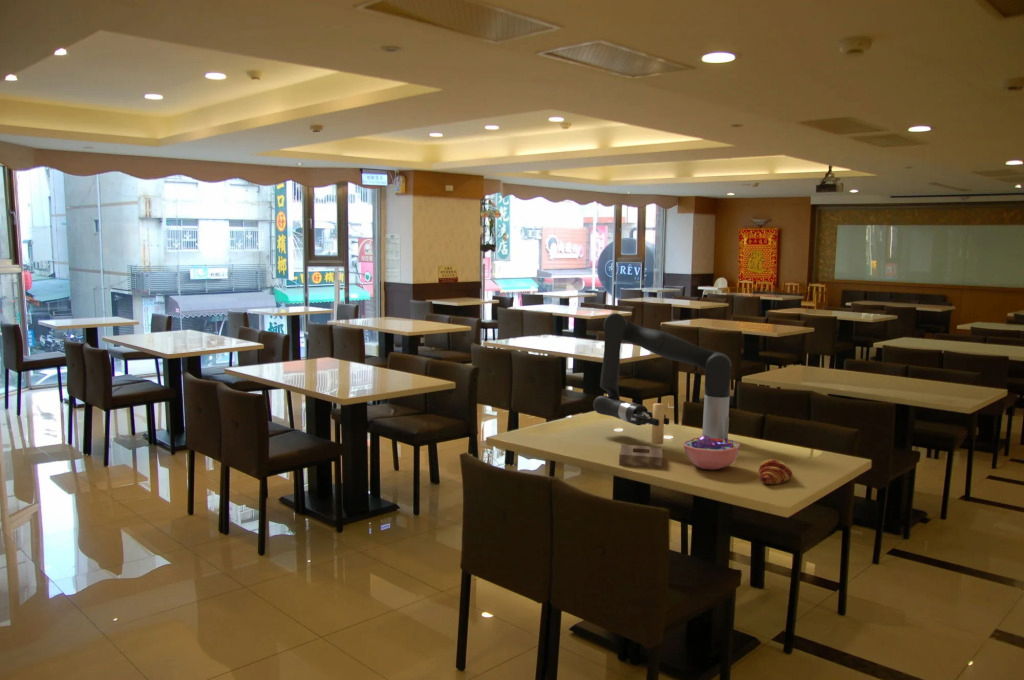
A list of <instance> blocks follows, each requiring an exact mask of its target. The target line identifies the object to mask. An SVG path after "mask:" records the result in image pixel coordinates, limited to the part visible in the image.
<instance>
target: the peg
mask: <svg viewBox="0 0 1024 680" xmlns="http://www.w3.org/2000/svg"><path fill="white" fill-rule="evenodd" d="M652 412H653V418H655V419H658V420H659V426H655V425H652V424H651V425H652V426H651V427H652V428H651V444H654V445H662V444H664V429H665V424H664V414H665V403H659V402H654V403H652Z"/></svg>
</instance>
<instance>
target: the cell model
mask: <svg viewBox="0 0 1024 680" xmlns="http://www.w3.org/2000/svg"><path fill="white" fill-rule="evenodd" d="M682 445H683V449H684V452H685V454H686V456H687V457H688V458H689V460H690V461H691V463H692V464H694V465H695V466H696V467H698V468H700V469H702V470H709V471H713V470H719V469H723V468H726V467H728V466H730V465H732V464H733V463H735V462H736V459H737V458H738V455H739V452H740V445H741V444H740V443H738V442H736V441H734V440H732V439H729V438H728V439H727V438H725V439H715V438H710V437H709V436H706V435H704V436H700V437H693V438H690V439H689V440H685V441H684V442H683V443H682Z"/></svg>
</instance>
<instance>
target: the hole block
mask: <svg viewBox="0 0 1024 680" xmlns="http://www.w3.org/2000/svg"><path fill="white" fill-rule="evenodd" d="M619 451H620V452H619V457H618V465H619V466H630V467H631V466H634V467H642V466H643V468H656V469H659V468H660V469H662V468H663V447H662V446H648V445H647V446H646V445H636V444H635V445H634V444H621V446H620V450H619Z"/></svg>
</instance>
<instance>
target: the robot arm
mask: <svg viewBox="0 0 1024 680" xmlns="http://www.w3.org/2000/svg"><path fill="white" fill-rule="evenodd" d="M603 333H604V335H603V336H604V337H603V338H604V345H603V347H604V348H603V349H604V350H603V358H602V366H601V373H600V381H599V382H600V383H599V387H600V389H602V390H604V391H606V394H607V396H606V395H599V396H597V397H595V399H594V400H593V401H592V403H593V404H592V406H593V409H594V411H595V412H596V413H597V414H600V415H604V416H609V417H613V418H616V419H619V420H622V421H624V422H626V423H629V424H633V425H635V426H643V425H644V426H645V425H655V426H659V420H658V419H655V418H653V411H649V410H648V408H647V407H646V406H645V405H642V404H639V403H635V402H631V401H625V400H622V399H621V398H620V391H619V382H620V381H619V379H620V371H621V370H620V369H621V368H620V367H621V360H620V358H621V345H622V341H625V342H629V343H631V344H634V345H637V346H639V347H641V348H643V349H644V350H646V351H648V352H649V353H653V354H655V355H657V356H659V357H662V358H665V359H668V360H670V361H674V362H675V361H676V362H680V363H686V364H690V365H694V366H696V367H699V368H700V369H702V370H704V398H703V399H704V400H703V402H704V403H703V415H702V416H703V417H702V436H704V435H706V436H709V437H710V438H715V439H725V438H727V439H728V440H729V427H730V426H729V424H730V423H729V422H730V417H729V414H730V413H729V411H730V396H731V395H730V394H731V373H732V366H733V365H732V361H731V359H730V357H729V356H728V355H727V354H725V353H723V352H719V351H714V350H711V349H707V348H703V347H701V346H698V345H696V344H693V343H692V342H690V341H688V340H686V339H683V338H681V337H678V336H677V335H673V334H671V333H669V332H665V331H662V330H658V329H654V328H650V327H649V328H648V327H644V326H641V325H638V324H636V323H634V322H633V321H630V320H628V319H626V318H625V317H624V316H623V315H622V314H620V313H615V312H613V313H609V315H607V316H606V317H605V318H604V321H603ZM669 424H670V418H668V417H667V415H666V414H665V413H664V425H666V426H667V425H669Z"/></svg>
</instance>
